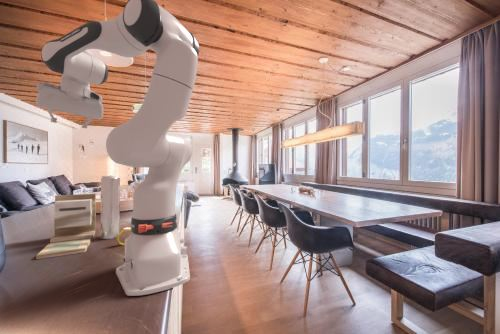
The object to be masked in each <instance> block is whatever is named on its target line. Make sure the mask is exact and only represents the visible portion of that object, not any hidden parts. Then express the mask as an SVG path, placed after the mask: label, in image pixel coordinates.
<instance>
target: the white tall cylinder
mask: <svg viewBox="0 0 500 334" xmlns="http://www.w3.org/2000/svg"><path fill="white" fill-rule="evenodd" d="M120 203H121V178H120V177H119V175H102V176H101V178H100V239H101V240H111V239H115V238H116V239H117V237H118V234H119V232H120V231H121V229H120V228H121V227H120V224H121V223H120V220H121V218H120V217H121V216H120V215H121V209H120V208H121V204H120Z"/></svg>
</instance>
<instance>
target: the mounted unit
mask: <svg viewBox="0 0 500 334" xmlns="http://www.w3.org/2000/svg"><path fill="white" fill-rule="evenodd" d="M96 197H97V195H96V193H82V194H81V193H80V194H79V193H78V194H60V195H59V194H58V195H57V194H56V195H54V211H53V213H54V216H53V217H54V218H53V220H54V221H53V222H54V223H53V225H54V228H53V229H54V236H53V237H51V239H50V240H49V241H50V242H49V244H50V243H58V242H65V241H73V240H81V239H89V238H91V239H92V238H94V236H95V234H96V216H97V215H96V211H97V210H96V209H97V208H96V207H97V206H96V204H97V203H96V201H97V200H96Z"/></svg>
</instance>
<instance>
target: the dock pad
mask: <svg viewBox="0 0 500 334" xmlns="http://www.w3.org/2000/svg"><path fill="white" fill-rule="evenodd" d="M91 242H92V238H84V239H76V240H68V241H60V242H53V243H50V242H49V243H48V244H47V245H46V246H45V247H43V248H42V250H40V251H39V252H38V253H37V254H36V256H35V259H36V260H42V259H48V258H56V257H61V256H67V255H75V254H79V253H85V252H86V251H87V250H88V248H89V247H90V244H91Z"/></svg>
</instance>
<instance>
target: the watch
mask: <svg viewBox="0 0 500 334" xmlns="http://www.w3.org/2000/svg"><path fill="white" fill-rule="evenodd" d="M128 231H131V226H129V227H123V228H122V229H121V230H120V232H119V234H118V237H116V239H117V242H118V244H119V245H121V246H125V242H121V241H120V236H121V235H122V233H124V232H128Z"/></svg>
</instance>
